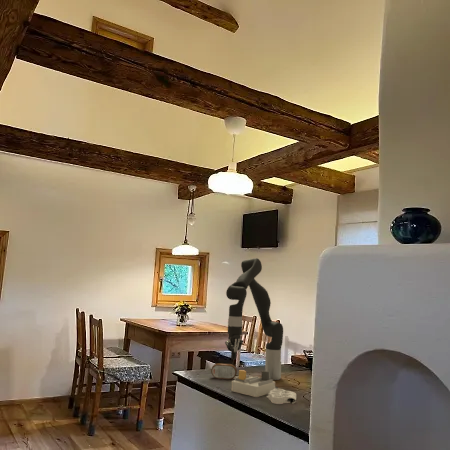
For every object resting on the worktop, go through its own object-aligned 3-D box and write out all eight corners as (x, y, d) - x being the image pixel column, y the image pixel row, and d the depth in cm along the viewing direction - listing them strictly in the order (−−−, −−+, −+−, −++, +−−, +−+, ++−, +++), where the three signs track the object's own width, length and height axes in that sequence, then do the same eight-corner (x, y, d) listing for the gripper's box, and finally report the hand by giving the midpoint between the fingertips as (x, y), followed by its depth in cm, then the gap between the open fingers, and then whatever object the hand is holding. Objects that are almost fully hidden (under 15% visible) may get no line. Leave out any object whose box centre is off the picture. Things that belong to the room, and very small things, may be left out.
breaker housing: (250, 385, 246) (250, 373, 247) (274, 391, 236) (275, 378, 237) (231, 391, 233) (231, 378, 234) (256, 397, 223) (257, 383, 224)
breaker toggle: (240, 379, 238) (240, 369, 238) (247, 380, 235) (247, 370, 236) (237, 380, 235) (237, 370, 236) (243, 381, 233) (244, 371, 233)
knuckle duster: (295, 406, 211) (264, 403, 214) (296, 396, 229) (267, 394, 232) (296, 399, 212) (265, 396, 214) (296, 390, 229) (268, 387, 232)
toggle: (263, 380, 238) (263, 370, 239) (270, 381, 236) (270, 371, 236) (259, 380, 236) (260, 371, 237) (266, 382, 233) (267, 372, 234)
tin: (236, 378, 262) (237, 364, 263) (236, 380, 259) (236, 365, 260) (211, 377, 264) (211, 362, 265) (210, 378, 261) (211, 363, 262)
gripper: (237, 323, 240) (235, 357, 238) (221, 324, 230) (219, 359, 228) (248, 325, 235) (247, 359, 233) (233, 326, 225) (231, 361, 223)
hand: (233, 359), depth 230 cm, fingers closed
